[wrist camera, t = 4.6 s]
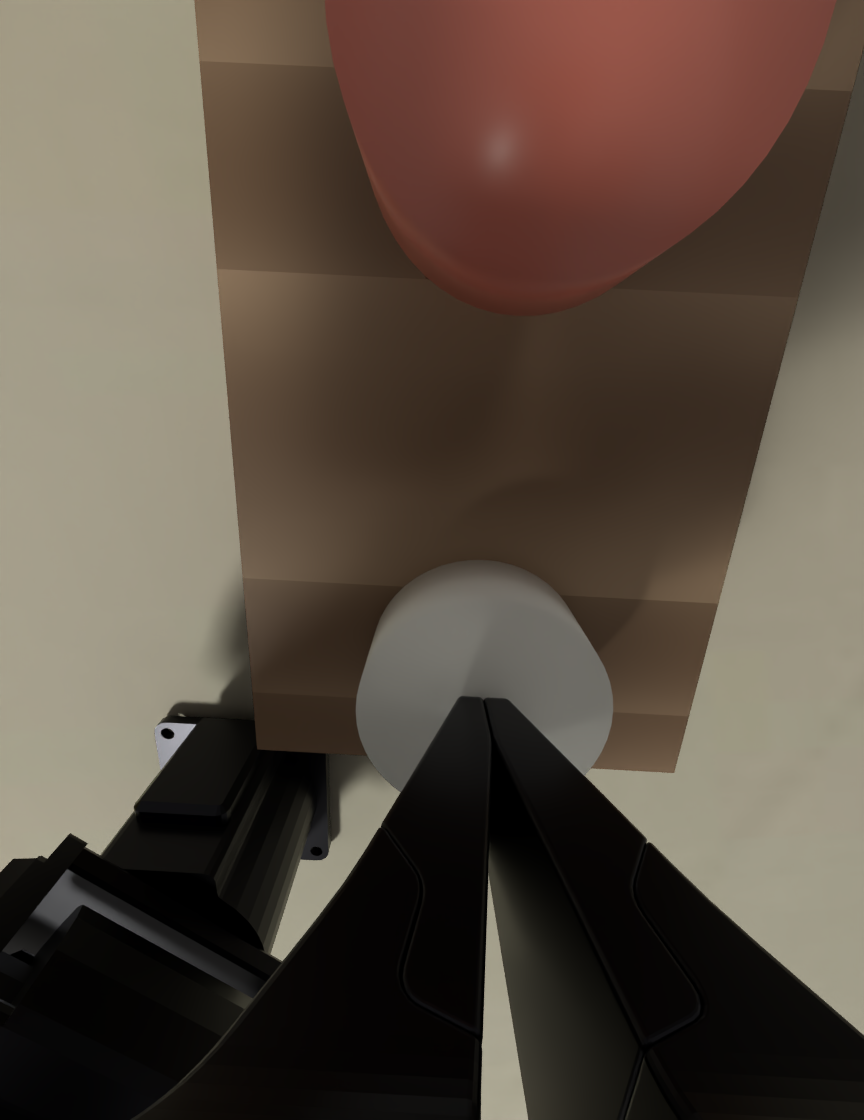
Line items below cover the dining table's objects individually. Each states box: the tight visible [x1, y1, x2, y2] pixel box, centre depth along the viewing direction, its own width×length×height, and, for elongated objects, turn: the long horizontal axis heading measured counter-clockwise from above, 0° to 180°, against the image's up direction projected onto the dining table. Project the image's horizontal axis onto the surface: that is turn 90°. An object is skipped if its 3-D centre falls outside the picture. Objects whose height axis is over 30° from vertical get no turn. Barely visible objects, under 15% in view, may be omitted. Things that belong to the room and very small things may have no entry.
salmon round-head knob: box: [325, 0, 837, 316], centre depth 8 cm, size 4×4×8 cm
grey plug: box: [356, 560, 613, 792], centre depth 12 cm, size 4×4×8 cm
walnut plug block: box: [195, 0, 864, 773], centre depth 10 cm, size 23×10×6 cm, turn 177°
